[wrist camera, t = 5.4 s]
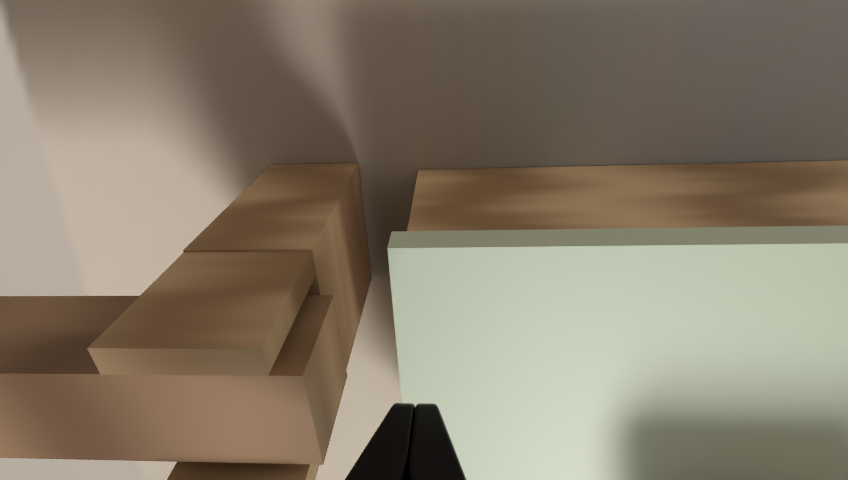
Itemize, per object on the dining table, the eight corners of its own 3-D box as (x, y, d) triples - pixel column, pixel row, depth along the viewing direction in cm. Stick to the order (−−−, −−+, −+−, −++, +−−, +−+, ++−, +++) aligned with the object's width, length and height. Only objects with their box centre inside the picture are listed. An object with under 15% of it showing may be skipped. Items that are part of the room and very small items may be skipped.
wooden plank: (333, 295, 11) (302, 375, 8) (347, 375, 12) (323, 464, 10) (-32, 296, 11) (-151, 372, 9) (16, 372, 12) (-79, 455, 10)
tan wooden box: (1006, 147, 14) (1712, 352, 6) (846, 423, 20) (1102, 708, 12) (270, 164, 16) (85, 345, 8) (323, 416, 22) (250, 664, 14)
